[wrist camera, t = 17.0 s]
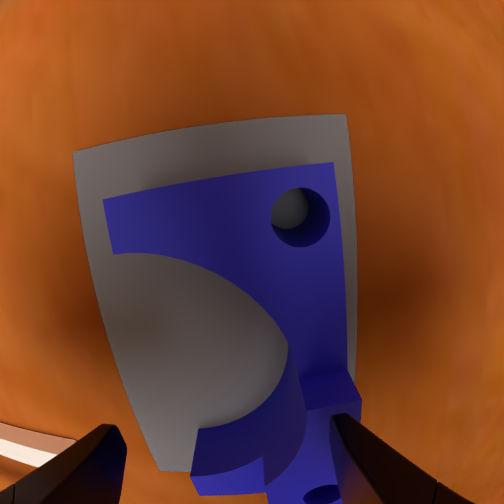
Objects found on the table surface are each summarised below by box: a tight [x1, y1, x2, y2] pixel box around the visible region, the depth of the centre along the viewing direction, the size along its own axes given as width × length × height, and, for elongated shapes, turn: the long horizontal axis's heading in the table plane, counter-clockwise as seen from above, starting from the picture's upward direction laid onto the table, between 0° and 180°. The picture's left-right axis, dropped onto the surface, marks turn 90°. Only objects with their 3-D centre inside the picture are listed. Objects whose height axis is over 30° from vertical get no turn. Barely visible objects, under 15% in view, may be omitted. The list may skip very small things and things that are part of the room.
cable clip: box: [102, 162, 362, 504], centre depth 10 cm, size 12×4×6 cm
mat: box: [73, 114, 358, 472], centre depth 12 cm, size 10×16×1 cm, turn 6°
